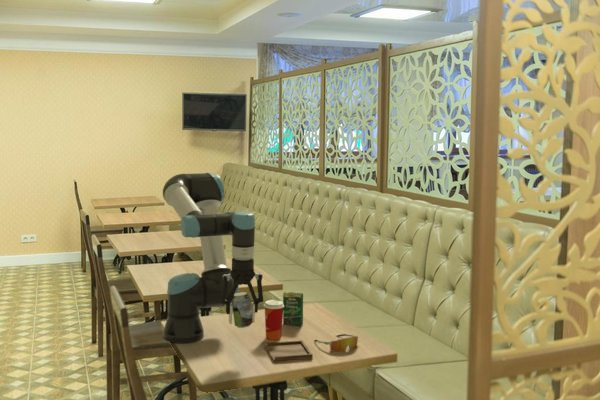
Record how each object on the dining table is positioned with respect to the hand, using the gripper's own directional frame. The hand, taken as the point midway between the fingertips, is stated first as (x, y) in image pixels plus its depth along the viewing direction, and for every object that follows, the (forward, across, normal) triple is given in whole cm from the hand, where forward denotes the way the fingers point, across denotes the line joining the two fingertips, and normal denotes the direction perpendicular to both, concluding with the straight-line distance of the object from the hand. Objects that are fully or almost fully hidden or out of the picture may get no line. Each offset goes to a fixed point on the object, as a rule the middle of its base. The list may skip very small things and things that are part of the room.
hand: (241, 321), depth 226 cm
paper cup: (+13, +15, +16) cm, 26 cm away
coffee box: (+14, +26, +30) cm, 42 cm away
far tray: (+13, +17, 0) cm, 21 cm away
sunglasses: (+13, +37, +6) cm, 40 cm away
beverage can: (+2, 0, 0) cm, 2 cm away
